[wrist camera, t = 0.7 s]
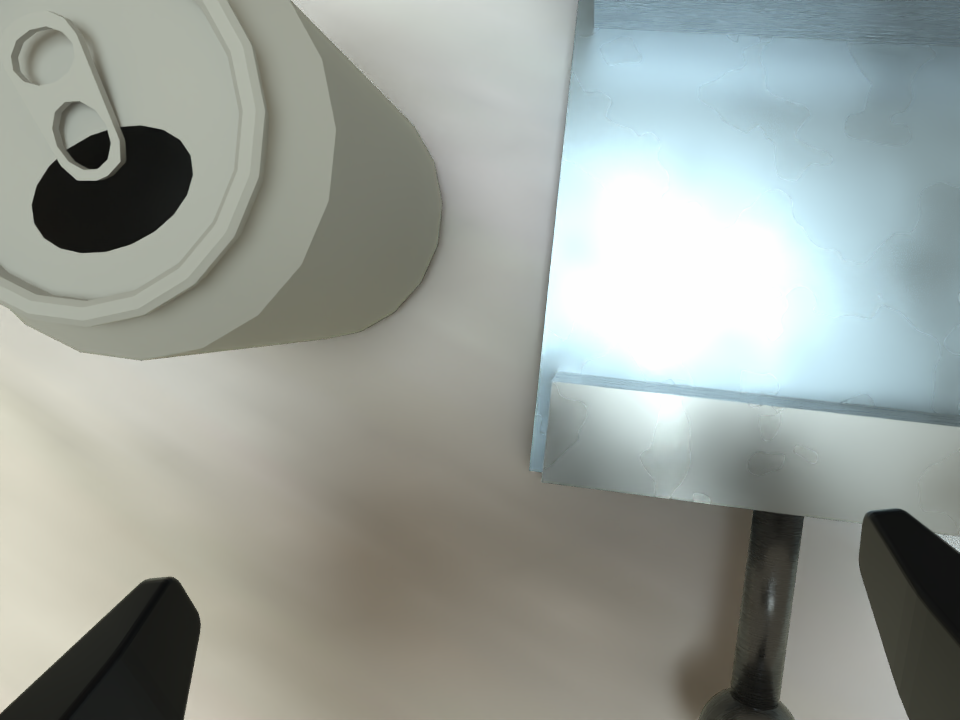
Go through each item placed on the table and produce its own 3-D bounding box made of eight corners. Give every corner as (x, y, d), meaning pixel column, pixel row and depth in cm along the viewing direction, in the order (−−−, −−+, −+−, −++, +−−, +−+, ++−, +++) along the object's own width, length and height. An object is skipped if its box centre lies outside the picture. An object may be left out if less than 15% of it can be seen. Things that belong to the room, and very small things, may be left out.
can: (259, 372, 24) (-56, 433, 13) (175, 144, 24) (-222, -12, 12) (483, 287, 23) (370, 266, 11) (396, 48, 23) (191, -226, 11)
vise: (962, 775, 22) (1131, 987, 15) (506, 699, 24) (472, 858, 17) (1090, -49, 20) (1345, -231, 13) (587, -66, 22) (585, -236, 15)
